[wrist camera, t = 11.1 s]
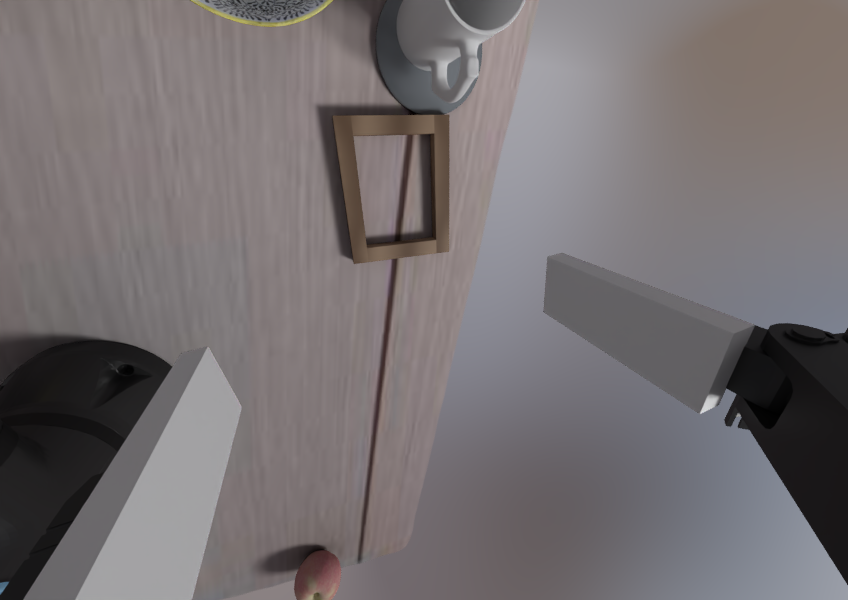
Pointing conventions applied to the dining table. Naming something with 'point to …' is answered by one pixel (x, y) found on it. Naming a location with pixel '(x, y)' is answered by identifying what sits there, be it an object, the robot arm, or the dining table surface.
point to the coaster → (411, 69)
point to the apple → (318, 577)
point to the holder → (350, 184)
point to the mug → (451, 36)
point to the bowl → (264, 10)
